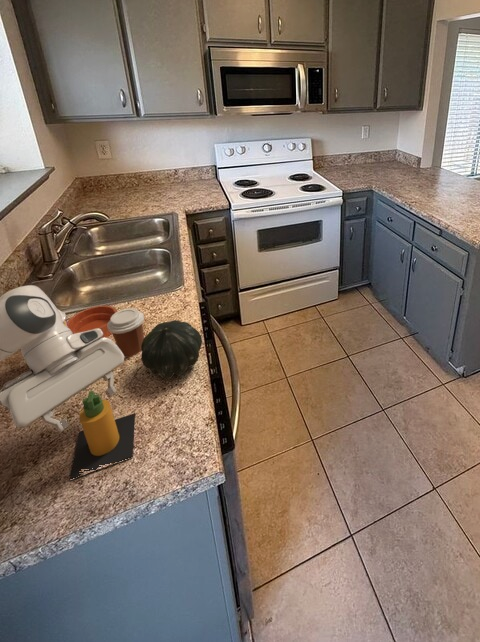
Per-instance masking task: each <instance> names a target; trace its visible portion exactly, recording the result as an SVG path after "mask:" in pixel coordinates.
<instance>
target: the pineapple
mask: <svg viewBox="0 0 480 642" xmlns="http://www.w3.org/2000/svg"><path fill="white" fill-rule="evenodd" d="M82 406H83V407H82V410H81V411H80V412H79V416H78V419H79V422H80V425H81V428H82V430H83V431H84V434H85V437H86V440H87V443H88V446H89V449H90V452H91V453H92V454H93V455H95V456H101V455H104V454H106V453H108V452H110V451H111V450H112V449H114V448H115V446H116V445H117V444H118V442H119V433H118V430H117V426H116V423H115V419H116V418H115V416H114V412H113V408H112V406H111V403H110V401H109V400H106V399H102V397H101V396H100V393H98V394H95V391H94V390H91V391H88V396H87V397H85V398H82Z"/></svg>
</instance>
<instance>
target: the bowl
mask: <svg viewBox="0 0 480 642" xmlns="http://www.w3.org/2000/svg"><path fill="white" fill-rule="evenodd" d="M116 312H118V310H117V308H116V307H113V306H111V305H107V304H106V305H96V306H92V307H88V308H86V309H83V310H82V311H80V312H76V314H74V315H73V316H71V317H70V318H69V319H68V320H67V324H68V328H69V329H70V330H71V331H72V333H73V334H76V333H80V332H85V331H89V330H93V329H97V328H99V329H101V330H102V332H103V336H102V338H104V337H106V338H109V336H111V335H113V334H112V333H111V332H109V331H108V329H107V324H108V322H109V321H110V318H111V317H112V315H113V314H115V313H116Z"/></svg>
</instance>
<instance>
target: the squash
mask: <svg viewBox="0 0 480 642" xmlns="http://www.w3.org/2000/svg"><path fill="white" fill-rule="evenodd" d="M202 345H203V339H202V335H201V333H200V332H199V330H197V329H196V328H195V327H194V326H192V325H191V324H190V323H189V322H186V321H180V320H177V319H174V320H170V321H163V322H159V323H158V324H157V325H155V326H154V327H153V328H152V330H151V331H150V332H148V333H147V334H146V335H144V340H143V342H142V345H141V350H142V351H141V362H142V364H143V366H144V367H145V369H148V370H149V372H150V373H151V374H153V375H159V376H161V378H162V379H165V380H169V379H170V378H172V377H173V376H174V375H175V376H182V375H183V374H185V372H186V371H187V369H188V368H189V367H190V368H191V367H192V366H194V365H195V364H196V363H197V362H198V360H199V358H200V350H201V347H202Z"/></svg>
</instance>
